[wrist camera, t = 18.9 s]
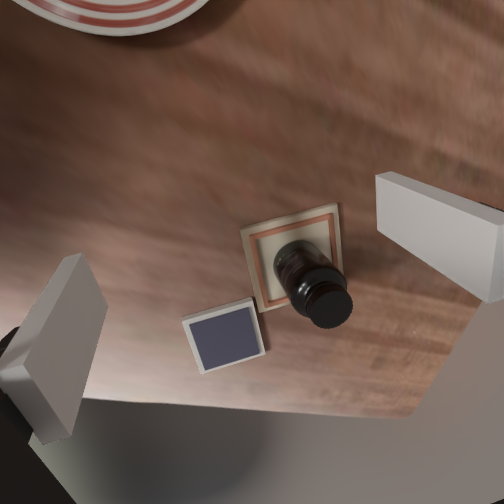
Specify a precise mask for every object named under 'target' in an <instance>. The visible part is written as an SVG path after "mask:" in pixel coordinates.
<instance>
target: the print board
mask: <svg viewBox="0 0 504 504" xmlns="http://www.w3.org/2000/svg"><path fill="white" fill-rule="evenodd" d="M239 230H240V234H241V239H242V243H243V247H244V252H245V256H246V260H247V265H248V269H249V273H250V278H251V282H252V286H253V291H254V295H255V299H256V303H257V308H258V311H259V313H261V312H265V311H268V310H271V309H275V308H278V307H281V306H285V305H288V304H291V303H290V301H289V299H288V297H287V296H286V294H285V292H284V290H283V289H282V287H281V285H280V283H279V282H278V280H277V278H276V276H275V274H274V270H273V262H274V258H275V256H276V254H277V252H278V251H279V250H280V249H281V248H282V247H283V246H284V245H286V244H287V243H289V242H292V241H296V240H305V241H308V242H311V243H312V244H314V245H315V246H316V247H317V248H318V249H319V250H320V251H321V252H322V253H323V254H324V255H325V256H326V257H327V258H328V259H329V260H330V261H331V262H332V263H333V264H334V265H335V266H336V267H337V268H338V269H339V270H340V272H341V273H342V274H343V275H344V273H343V262H342V250H341V239H340V228H339V216H338V205H337V204H336V203H335V202H334V203H331V204H327V205H323V206H319V207H316V208H312V209H308V210H305V211H301V212H297V213H293V214H290V215H286V216H282V217H279V218H275V219H271V220H267V221H264V222H260V223H256V224H252V225H249V226H245V227H241V228H239Z"/></svg>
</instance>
